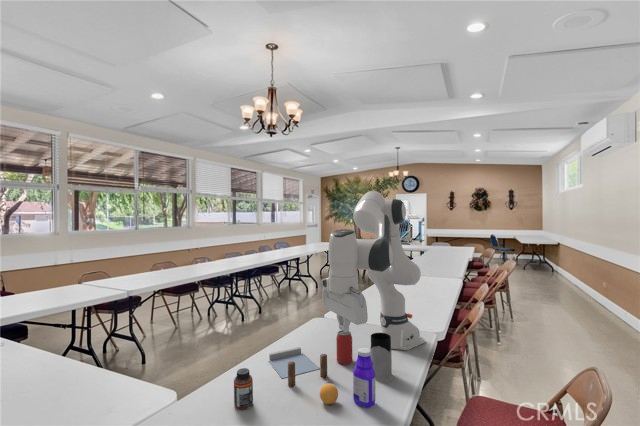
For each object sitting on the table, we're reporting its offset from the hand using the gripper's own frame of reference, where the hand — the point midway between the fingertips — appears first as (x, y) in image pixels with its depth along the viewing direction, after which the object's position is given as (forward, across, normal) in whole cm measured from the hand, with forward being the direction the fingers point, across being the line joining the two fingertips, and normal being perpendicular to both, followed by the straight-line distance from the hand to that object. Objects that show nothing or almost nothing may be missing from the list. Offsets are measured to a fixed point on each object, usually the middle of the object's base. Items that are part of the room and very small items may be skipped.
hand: (344, 330), depth 99 cm
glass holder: (+27, +18, -28) cm, 43 cm away
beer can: (+27, +33, -20) cm, 47 cm away
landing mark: (+27, +40, 0) cm, 48 cm away
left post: (+27, +26, +6) cm, 38 cm away
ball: (+24, +10, 0) cm, 26 cm away
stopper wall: (+27, +49, 0) cm, 56 cm away
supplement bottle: (+27, +22, +25) cm, 43 cm away
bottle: (+27, +4, -10) cm, 29 cm away
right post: (+27, +26, -7) cm, 38 cm away
